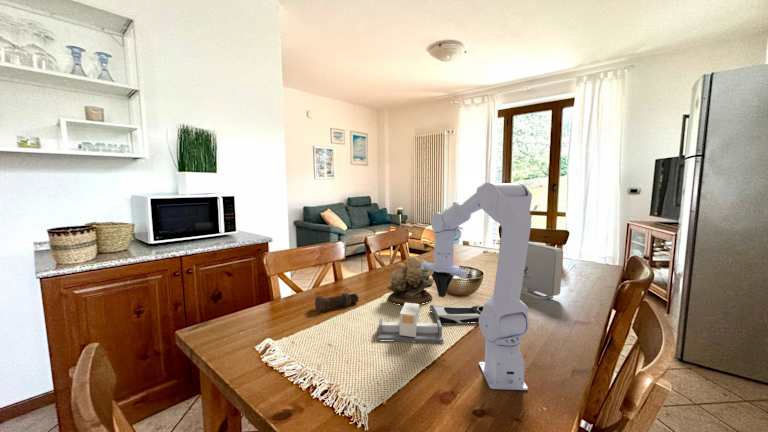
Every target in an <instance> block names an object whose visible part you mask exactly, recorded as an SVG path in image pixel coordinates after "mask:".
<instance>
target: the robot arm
mask: <svg viewBox="0 0 768 432" xmlns="http://www.w3.org/2000/svg"><path fill="white" fill-rule="evenodd" d="M532 199H533V194H532V192H531V191H530V190H529V189H528V187H527V185H525V184H524V183H522V182H513V183H512V182H511V183H510V182H507V183H506V182H505V183H503V182H491V181H490V182H489V181H488V182H484V183H483V184H482V185H480V186H478V187H477V188H476V192H474V194H472V195H471V196H469V198H468V199H466V200H465V201H463V202H462V201H454V202H452V205H451V206H450V207H447V208H445V209H444V210H443V211H442V212H439V211H437V212H434V213H433V214H432V216H431V221H430V224H431V228H432V230H433V232H434V243H433V244H434V248H433V262H428V261H427V262H428V263H427V262H423V263H421V269H423V270H424V269H426V270H429V271H432V272H433V273H432V274H431V278H432V279H434V281H433V282H434V283H435V287H436V291H437V295H438V297H439V298H444V297H446V296H447V291H448V288H449V285H450V283H451V282H452V280H453V278H454V276H455V277H460V278H461V279H466V278H468V270H465V269H462V268H459V267H456V266H454V248H455V245H454V244H455V243H454V241H455V238H456V237H457V231H458V229H459V226H460V225H462V224H464V223H466V222H468V221H469V220H470V219H471V217H472V214H473V213H476V212H478V211H480V210H482V211H483V212H485V213H486V214H487V216H489V217H490V218H491V219H492V220H494V221H495V222H497V223H498V224H499V225H500V226H501V236H500V241H499V242H500V243H499V249H498V250H499V252H498V258H497V265H496V266H497V267H496V271H495V273H496V274H495V280H494V287H493V294H492V295H491V297H489V298H488V299H487V300H486V301H485V302H484V304H483V305H482V306H483V311H482V312H481V314H480V316H479V324H478V327H479V330H480V332H481V334H482V335H483V337H484V338H485V347H484V348H485V350H484V361H479V362H478V366H479V367H480V370H481V372H482V374H483V376H484V378H485V380H486V382H487V384H488V387H489V388H490V389H492V390H508V391H509V390H510V391H511V390H512V391H517V390H518V391H528V389H529V387H528V385H527V384H526V383H525V371H526V370H525V368H526V361H525V358H524V357H523V354H522V353H521V349H520V345H521V341H522V340H523V339H524V338H523V336H524V335H525V334H527V333H528V332H529V329H530V319H529V314H528V312H529V307H528V306H527V304H526V303H524V301H523V300H521V294H522V292H521V289H522V282H523V275H524V269H525V262H526V256H527V249H528V242H530V235H531V228H532V217H531V210H530V209H531V204H532Z"/></svg>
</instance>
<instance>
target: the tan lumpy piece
mask: <svg viewBox="0 0 768 432" xmlns="http://www.w3.org/2000/svg"><path fill="white" fill-rule="evenodd" d="M423 262H427V263H429V262H428V261H427V260H426V259H420V258H419V257H417V256H415V255H411V256H409V257H408V258H407V265H408V267H407V265H406V264H405V263H403V262H398V263H396V264H395V266H394V270H392V272H391V276H390V283H391V284H389V285H387V290H389V291H392V293H390V294H389V295H388V297H387V301H388V302H389V301H390V302H392V303H395V304H400V305H399V306H401V305H404V304H405V303H415V304H422V303H426V302H429V301H430V302H432V300H433V295H432V294H431V293H430V292H428V291H427V290H426V289H428V288H431V287H432V286H433V284H434V283H435V282H434V279H433V278H432V277H431V278H430V275H431V272H430V270H426V269H424V270H423V269H421V263H423ZM390 302H389V303H390ZM430 302H429V303H430ZM392 303H391V304H392ZM395 304H394V305H395ZM426 304H427V303H426Z"/></svg>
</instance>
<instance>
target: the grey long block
mask: <svg viewBox="0 0 768 432" xmlns="http://www.w3.org/2000/svg"><path fill="white" fill-rule="evenodd" d="M377 334H378V335H377V341H378V340H394V341H415V342H414V343H424V342H443V343H444V337H443V324H441V322H440V320H437V321H436V323H435V322H434V323H433V322H428V323H427V322H419V323H418V325H417V328H416V336H415V337H411V336H403V335H400V321H399V322H397V321H383V318H382V317H381V318H379V320H378V332H377Z"/></svg>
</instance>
